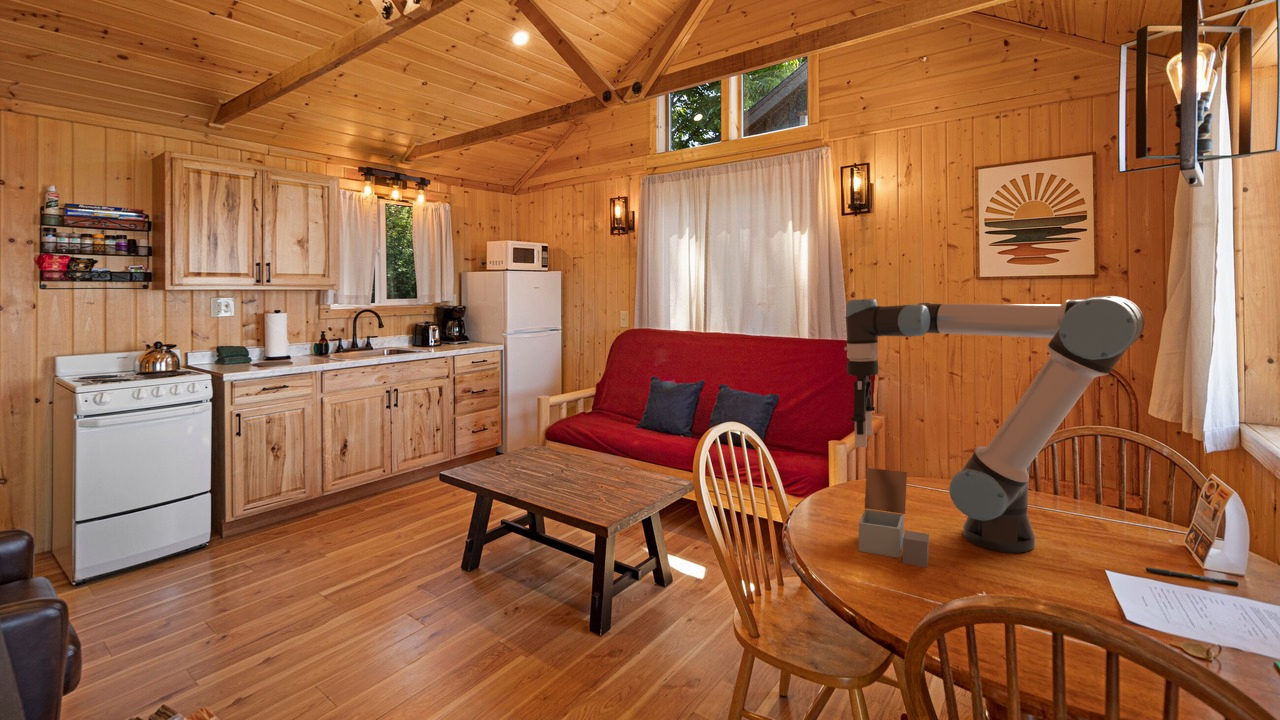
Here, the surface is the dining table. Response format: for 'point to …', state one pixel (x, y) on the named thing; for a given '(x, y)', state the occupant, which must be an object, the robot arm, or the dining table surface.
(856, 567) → the dining table surface
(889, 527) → the box
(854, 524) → the dining table surface
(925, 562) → the slate block
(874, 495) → the lid
